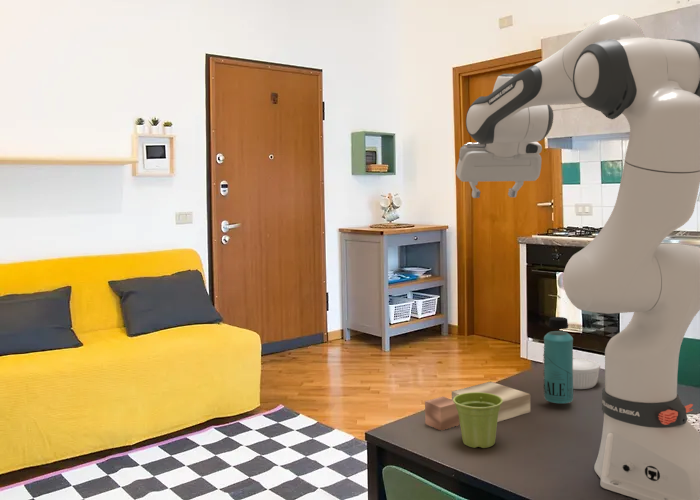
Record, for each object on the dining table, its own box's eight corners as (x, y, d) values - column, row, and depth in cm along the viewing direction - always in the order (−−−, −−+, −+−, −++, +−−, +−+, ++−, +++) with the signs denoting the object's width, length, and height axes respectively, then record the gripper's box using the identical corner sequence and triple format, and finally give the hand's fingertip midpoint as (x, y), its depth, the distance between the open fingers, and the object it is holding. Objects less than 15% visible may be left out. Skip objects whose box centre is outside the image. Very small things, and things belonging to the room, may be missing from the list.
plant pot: (443, 442, 127) (443, 398, 126) (477, 430, 132) (476, 388, 131) (480, 456, 119) (479, 411, 118) (513, 443, 125) (513, 399, 124)
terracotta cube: (459, 425, 135) (458, 402, 135) (441, 431, 132) (440, 407, 132) (443, 419, 139) (443, 396, 139) (425, 424, 137) (424, 401, 136)
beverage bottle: (570, 400, 148) (569, 314, 146) (577, 410, 141) (577, 320, 140) (540, 400, 149) (540, 314, 147) (546, 410, 142) (546, 320, 140)
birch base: (530, 411, 142) (530, 394, 141) (490, 424, 135) (490, 405, 135) (490, 398, 152) (490, 381, 151) (451, 408, 145) (451, 391, 145)
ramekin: (543, 380, 164) (543, 360, 164) (582, 375, 167) (582, 355, 167) (568, 393, 154) (568, 371, 153) (609, 388, 156) (609, 366, 156)
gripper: (465, 147, 148) (457, 202, 154) (548, 146, 151) (537, 201, 158) (456, 138, 153) (449, 192, 160) (537, 138, 157) (527, 191, 163)
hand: (493, 196), depth 159 cm, fingers open, 8 cm apart
